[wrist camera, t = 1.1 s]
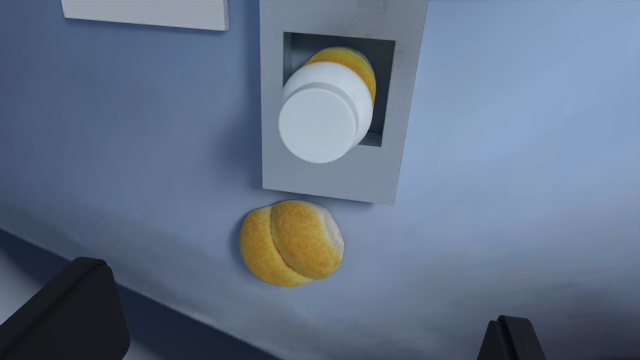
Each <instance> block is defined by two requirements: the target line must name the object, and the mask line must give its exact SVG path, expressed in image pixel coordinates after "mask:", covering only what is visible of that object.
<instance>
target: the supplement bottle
mask: <svg viewBox="0 0 640 360" xmlns="http://www.w3.org/2000/svg"><path fill="white" fill-rule="evenodd" d="M375 93H376V77H375V73H374V70H373V68H372V66H371V64H370V63H369V61H368V60H367V58H366V57H365V56H364V55H363V54H361V53H360V52H359V51H357V50H355V49H353V48H351V47H348V46H343V45H334V46H329V47H326V48H324V49H322V50H320V51H318V52H317V53H315V54H314V55H313V56H311V57H310V58H309V59H308V60H307V61H306V62H305V63H304V64H303V65H302V66H301V67H300V68H299V69H298V70H297V71H296V72H295V73H294V74H293V75H292V76H291V77H290V78H289V79H288V81H287V82H286V84H285V86H284V88H283V90H282V93H281V96H280V101H279V118H278V129H279V133H280V136H281V139H282V141H283V143H284V145H285V146H286V147H287V149H288V150H289V151H290V152H291V153H292V154H294V155H295V156H297V157H298V158H300V159H302V160H304V161H307V162H311V163H320V164H321V163H328V162H332V161H334V160H337V159H338V158H340V157H342V156H343V155H344V154H345V153H346V152H347V151H348V150H350V149H352V148H353V147H355V146H356V145H357V144H358V143H359V142H360V141H361V140H362V139H363V138H364V136H365V135H366V133H367V131H368V129H369V127H370V124H371V120H372V115H373V107H374V100H375Z"/></svg>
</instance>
